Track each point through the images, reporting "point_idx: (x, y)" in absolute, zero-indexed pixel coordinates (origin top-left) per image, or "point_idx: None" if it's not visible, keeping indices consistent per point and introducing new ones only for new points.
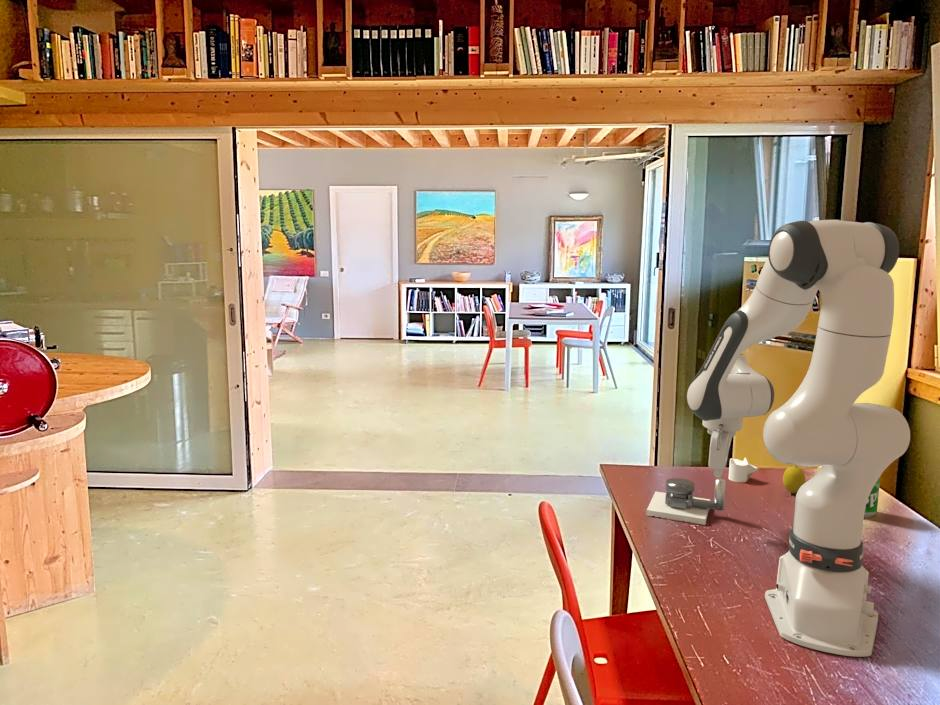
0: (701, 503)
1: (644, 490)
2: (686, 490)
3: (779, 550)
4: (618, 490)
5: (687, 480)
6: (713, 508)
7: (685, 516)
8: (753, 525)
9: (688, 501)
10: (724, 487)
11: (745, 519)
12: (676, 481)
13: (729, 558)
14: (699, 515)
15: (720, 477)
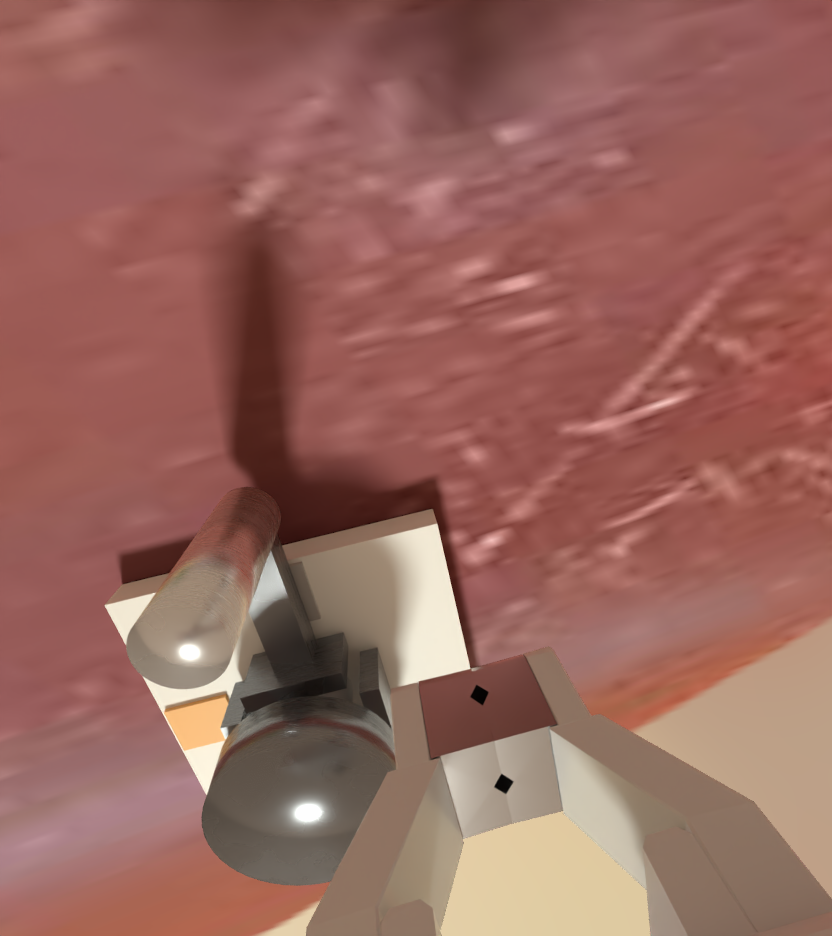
0: (298, 612)
1: (189, 857)
2: (375, 742)
3: (555, 15)
4: (277, 913)
5: (218, 809)
6: (278, 539)
7: (457, 612)
8: (248, 279)
9: (239, 676)
10: (207, 571)
11: (185, 351)
12: (297, 842)
13: (791, 272)
14: (405, 565)
15: (549, 652)
